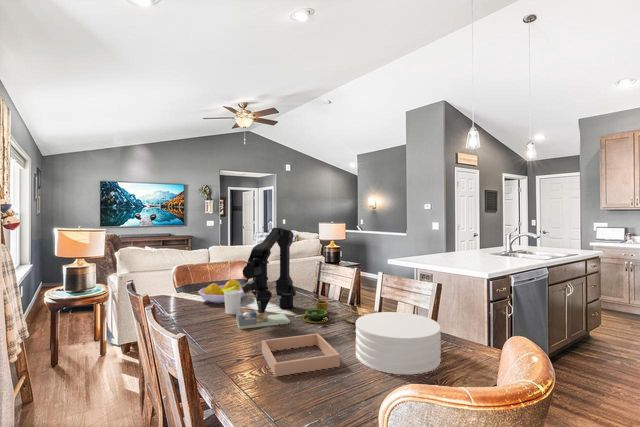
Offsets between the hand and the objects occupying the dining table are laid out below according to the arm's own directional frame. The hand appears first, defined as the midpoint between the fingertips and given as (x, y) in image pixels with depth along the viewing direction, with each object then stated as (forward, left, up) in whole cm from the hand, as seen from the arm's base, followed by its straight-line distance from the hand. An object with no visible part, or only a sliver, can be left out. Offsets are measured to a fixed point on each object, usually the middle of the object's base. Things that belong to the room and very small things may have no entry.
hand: (260, 309), depth 160 cm
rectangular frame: (-5, +44, -6) cm, 45 cm away
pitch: (-1, 0, -6) cm, 6 cm away
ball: (+6, 0, -2) cm, 7 cm away
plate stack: (-37, +53, -6) cm, 65 cm away
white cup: (+10, -20, -6) cm, 23 cm away
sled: (+1, 0, -4) cm, 4 cm away
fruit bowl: (+12, -46, -6) cm, 48 cm away
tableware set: (-34, +12, -6) cm, 37 cm away
